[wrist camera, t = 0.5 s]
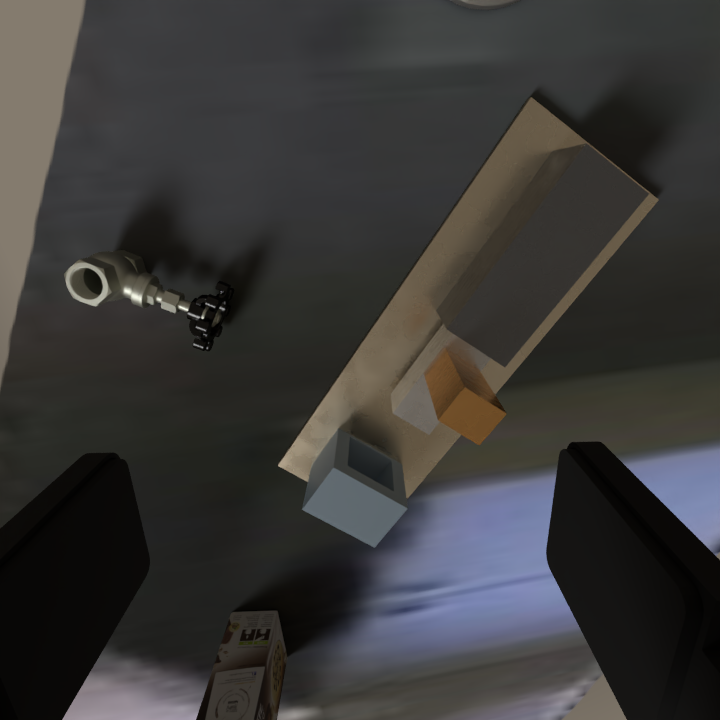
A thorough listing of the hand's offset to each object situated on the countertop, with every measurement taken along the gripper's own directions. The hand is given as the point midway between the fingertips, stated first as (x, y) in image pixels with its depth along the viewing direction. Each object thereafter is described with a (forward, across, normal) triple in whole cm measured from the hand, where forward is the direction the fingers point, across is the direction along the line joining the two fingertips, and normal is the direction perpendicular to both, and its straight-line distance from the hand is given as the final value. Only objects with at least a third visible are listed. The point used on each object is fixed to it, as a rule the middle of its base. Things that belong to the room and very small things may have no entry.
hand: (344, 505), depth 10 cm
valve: (+34, +18, 0) cm, 38 cm away
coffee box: (+35, +14, +47) cm, 60 cm away
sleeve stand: (+33, -8, +7) cm, 35 cm away
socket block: (+33, +1, +20) cm, 38 cm away
